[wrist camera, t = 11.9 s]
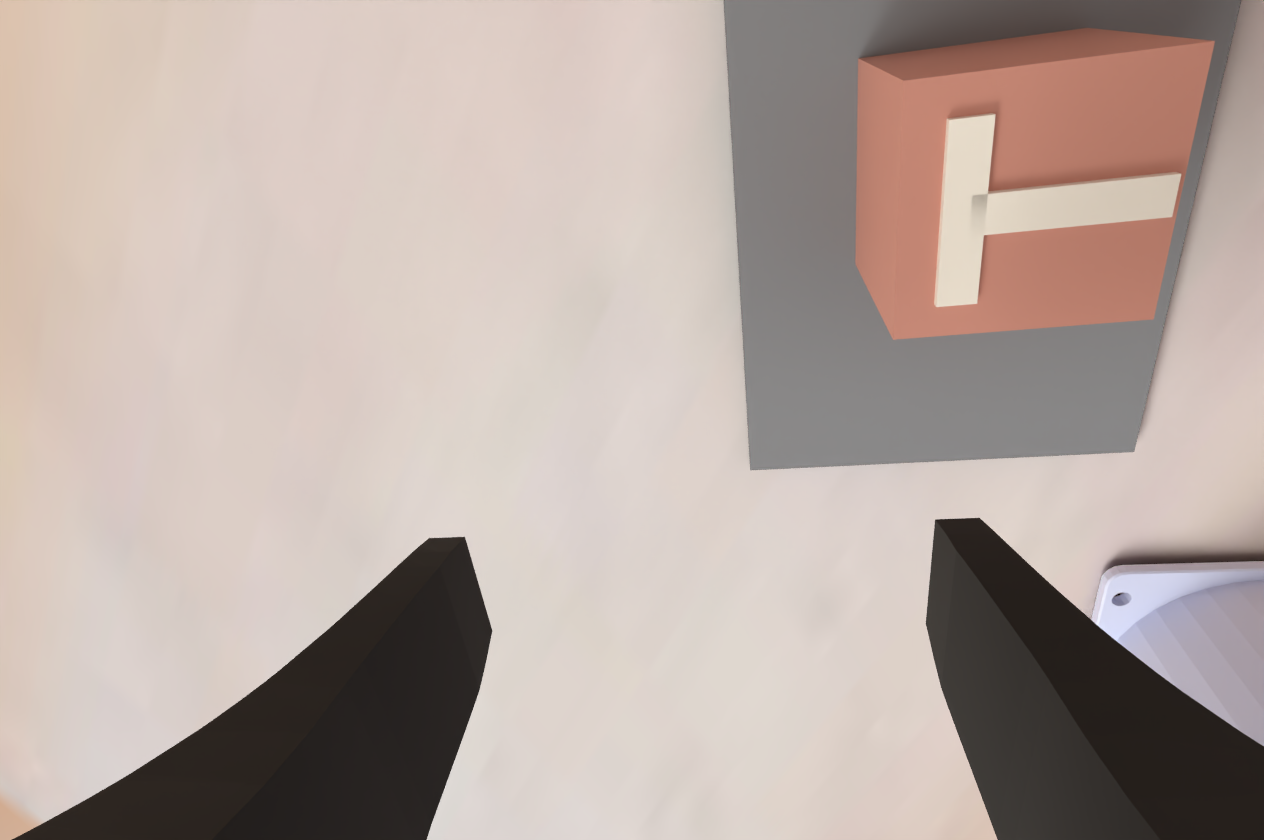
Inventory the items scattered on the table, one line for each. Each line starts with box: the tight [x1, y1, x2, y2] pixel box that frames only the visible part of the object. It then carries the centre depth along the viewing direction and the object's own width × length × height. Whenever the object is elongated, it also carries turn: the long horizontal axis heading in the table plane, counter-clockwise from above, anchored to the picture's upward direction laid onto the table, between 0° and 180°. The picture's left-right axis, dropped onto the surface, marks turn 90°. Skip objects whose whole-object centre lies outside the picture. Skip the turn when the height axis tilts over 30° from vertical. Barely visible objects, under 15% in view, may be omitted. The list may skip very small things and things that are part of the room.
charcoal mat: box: [724, 0, 1241, 470], centre depth 17 cm, size 16×10×1 cm, turn 7°
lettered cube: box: [855, 28, 1215, 340], centre depth 15 cm, size 4×4×5 cm
